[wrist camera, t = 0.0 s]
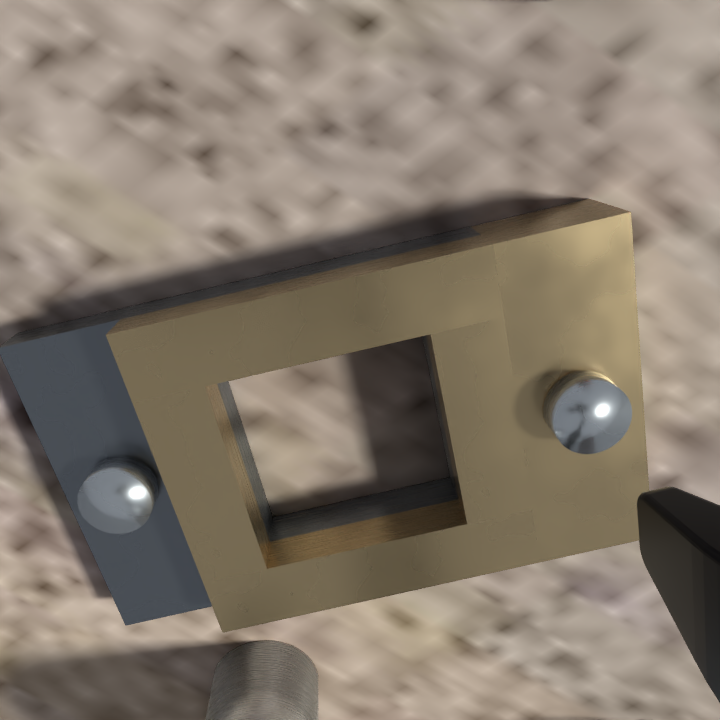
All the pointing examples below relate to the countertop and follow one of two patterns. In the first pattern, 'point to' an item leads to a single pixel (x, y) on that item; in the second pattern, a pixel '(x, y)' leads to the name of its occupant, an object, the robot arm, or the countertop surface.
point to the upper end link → (456, 398)
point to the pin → (264, 684)
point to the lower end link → (136, 462)
